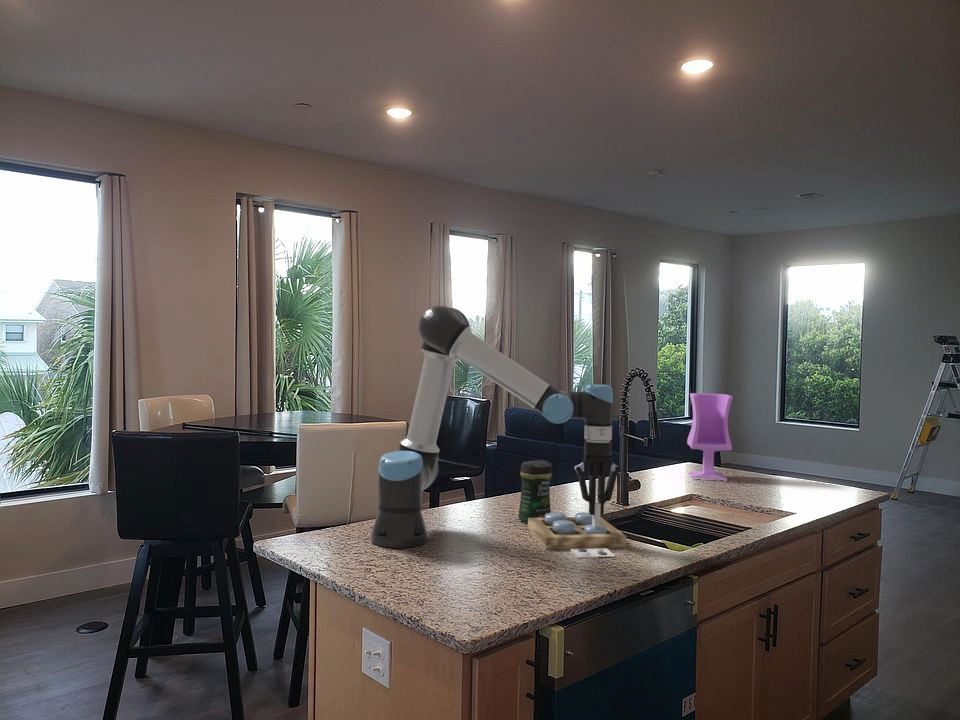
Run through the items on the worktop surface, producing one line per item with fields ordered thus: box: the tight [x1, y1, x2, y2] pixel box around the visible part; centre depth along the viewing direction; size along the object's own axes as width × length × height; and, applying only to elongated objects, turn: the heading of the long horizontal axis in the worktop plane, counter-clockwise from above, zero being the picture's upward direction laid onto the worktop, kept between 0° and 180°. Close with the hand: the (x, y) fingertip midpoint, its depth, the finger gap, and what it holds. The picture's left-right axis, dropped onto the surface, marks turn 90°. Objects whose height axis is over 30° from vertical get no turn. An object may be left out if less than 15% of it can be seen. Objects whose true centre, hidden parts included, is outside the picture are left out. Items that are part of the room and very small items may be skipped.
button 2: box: [553, 520, 575, 535], centre depth 196 cm, size 6×6×2 cm
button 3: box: [574, 512, 592, 526], centre depth 206 cm, size 6×6×2 cm
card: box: [569, 548, 616, 559], centre depth 185 cm, size 10×7×1 cm
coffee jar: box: [518, 459, 553, 524], centre depth 218 cm, size 10×8×19 cm
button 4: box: [584, 524, 607, 534], centre depth 197 cm, size 6×6×2 cm
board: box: [527, 516, 627, 550], centre depth 201 cm, size 22×22×3 cm
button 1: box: [545, 512, 567, 526], centre depth 205 cm, size 6×6×2 cm
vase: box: [686, 392, 734, 479], centre depth 300 cm, size 16×16×35 cm
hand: (595, 526), depth 197 cm, fingers closed
